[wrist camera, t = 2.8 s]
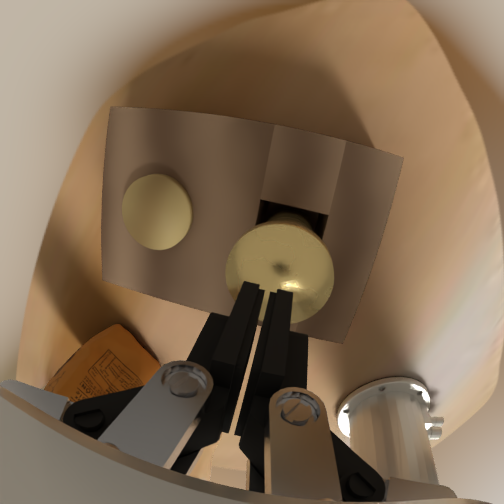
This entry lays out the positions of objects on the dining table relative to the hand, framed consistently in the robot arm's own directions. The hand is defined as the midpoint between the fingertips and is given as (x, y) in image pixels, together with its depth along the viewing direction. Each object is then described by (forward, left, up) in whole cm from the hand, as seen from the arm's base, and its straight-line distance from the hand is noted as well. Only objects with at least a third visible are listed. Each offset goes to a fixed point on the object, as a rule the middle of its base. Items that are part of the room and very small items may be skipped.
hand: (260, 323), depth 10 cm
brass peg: (0, 0, -12) cm, 12 cm away
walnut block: (+4, 0, -18) cm, 19 cm away
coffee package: (+18, +24, -19) cm, 35 cm away
